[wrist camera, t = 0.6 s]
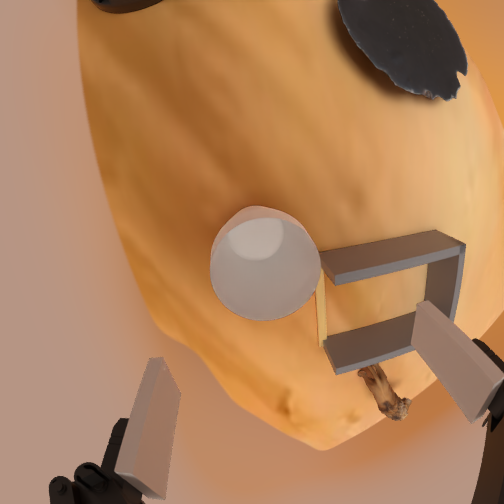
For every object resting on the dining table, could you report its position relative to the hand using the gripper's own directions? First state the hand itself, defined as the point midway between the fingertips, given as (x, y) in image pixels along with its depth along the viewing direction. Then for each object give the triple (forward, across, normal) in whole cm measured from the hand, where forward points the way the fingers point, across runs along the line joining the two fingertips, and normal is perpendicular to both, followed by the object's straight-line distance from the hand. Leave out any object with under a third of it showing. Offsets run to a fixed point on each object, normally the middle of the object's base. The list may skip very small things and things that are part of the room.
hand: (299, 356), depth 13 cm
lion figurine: (+21, +16, -29) cm, 39 cm away
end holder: (+21, +16, -11) cm, 29 cm away
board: (+22, +24, +25) cm, 41 cm away
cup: (+22, -1, 0) cm, 22 cm away
